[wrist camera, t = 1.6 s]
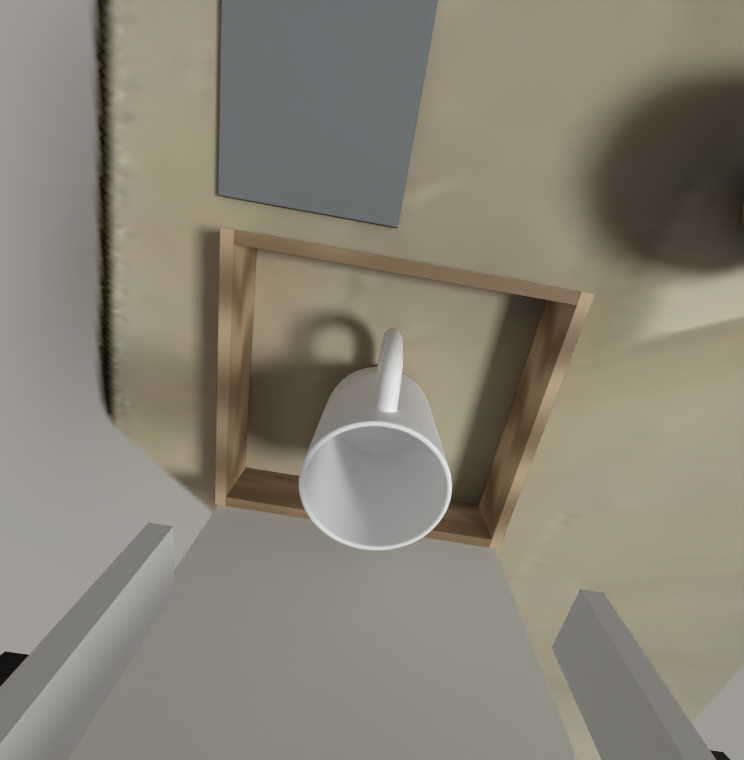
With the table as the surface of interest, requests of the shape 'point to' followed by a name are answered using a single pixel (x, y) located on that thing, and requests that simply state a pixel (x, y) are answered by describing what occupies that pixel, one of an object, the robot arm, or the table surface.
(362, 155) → the mat
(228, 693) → the lid
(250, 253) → the frame
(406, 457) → the cup
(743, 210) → the fruit
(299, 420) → the table surface
